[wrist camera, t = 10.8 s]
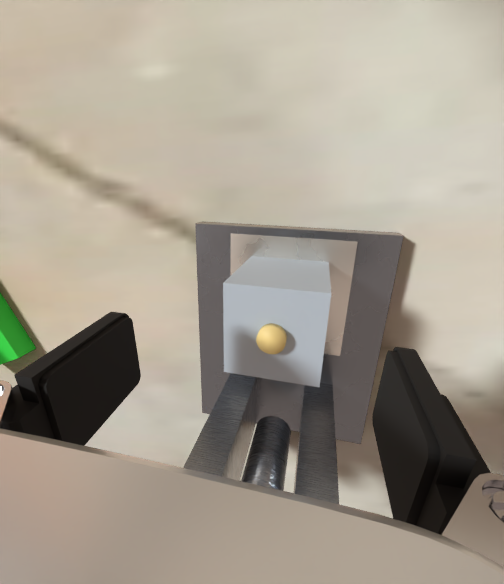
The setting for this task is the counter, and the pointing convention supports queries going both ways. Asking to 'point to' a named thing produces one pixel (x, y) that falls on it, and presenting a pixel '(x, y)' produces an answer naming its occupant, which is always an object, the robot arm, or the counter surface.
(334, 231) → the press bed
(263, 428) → the ram
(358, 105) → the counter surface
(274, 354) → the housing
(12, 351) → the mechanical part
